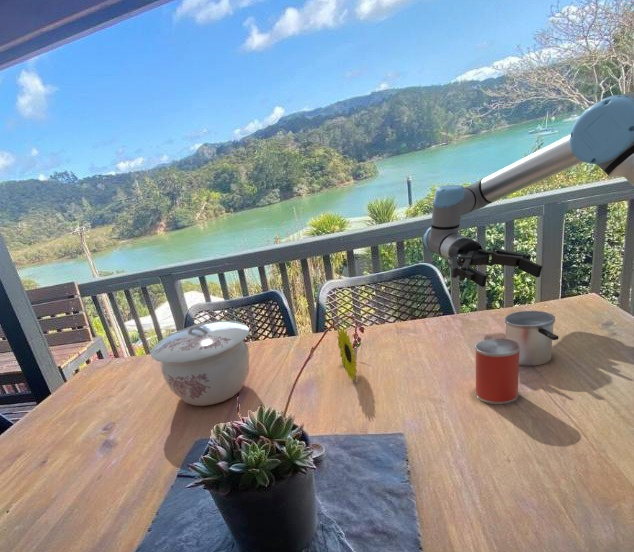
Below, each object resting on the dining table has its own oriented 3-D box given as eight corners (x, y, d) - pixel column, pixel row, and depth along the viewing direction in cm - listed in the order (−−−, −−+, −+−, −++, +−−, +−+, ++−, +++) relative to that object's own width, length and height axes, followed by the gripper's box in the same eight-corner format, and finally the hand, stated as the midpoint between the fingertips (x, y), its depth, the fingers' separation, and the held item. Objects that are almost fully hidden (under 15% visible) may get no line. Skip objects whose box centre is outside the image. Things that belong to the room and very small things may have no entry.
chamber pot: (265, 407, 110) (248, 331, 102) (160, 428, 112) (136, 355, 104) (257, 363, 135) (244, 300, 127) (172, 381, 137) (154, 320, 130)
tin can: (505, 383, 95) (506, 335, 91) (526, 400, 88) (528, 349, 84) (469, 389, 96) (468, 342, 92) (486, 407, 89) (486, 357, 85)
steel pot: (536, 346, 107) (538, 307, 103) (576, 370, 94) (580, 327, 90) (496, 353, 108) (496, 315, 105) (530, 378, 95) (532, 336, 92)
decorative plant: (343, 322, 132) (315, 332, 106) (362, 317, 129) (338, 326, 103) (355, 369, 133) (330, 390, 106) (374, 365, 130) (354, 386, 104)
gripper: (501, 256, 124) (558, 282, 106) (416, 271, 123) (459, 299, 105) (506, 230, 120) (566, 252, 102) (419, 245, 120) (463, 270, 101)
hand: (512, 276), depth 104 cm, fingers open, 13 cm apart
